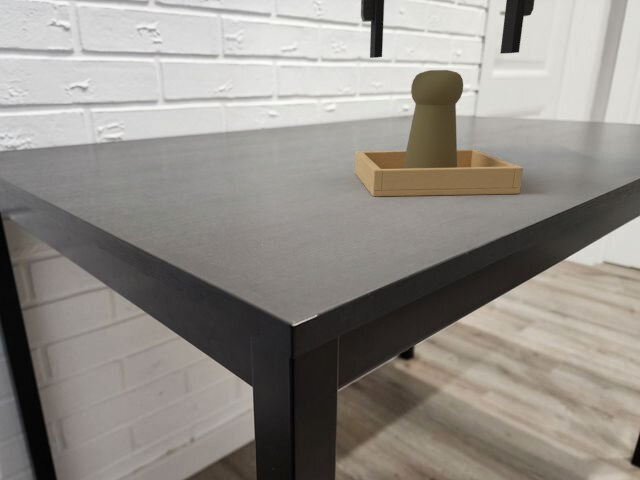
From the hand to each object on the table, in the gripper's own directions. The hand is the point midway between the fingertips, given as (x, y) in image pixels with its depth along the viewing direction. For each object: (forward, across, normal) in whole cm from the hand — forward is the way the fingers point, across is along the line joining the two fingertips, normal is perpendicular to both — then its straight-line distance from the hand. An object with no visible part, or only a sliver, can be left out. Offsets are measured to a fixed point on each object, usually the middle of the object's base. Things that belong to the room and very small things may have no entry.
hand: (442, 55), depth 52 cm
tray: (+13, 0, 0) cm, 13 cm away
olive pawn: (+13, 0, 0) cm, 13 cm away
